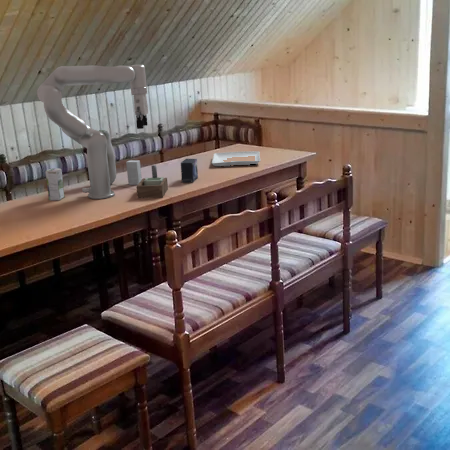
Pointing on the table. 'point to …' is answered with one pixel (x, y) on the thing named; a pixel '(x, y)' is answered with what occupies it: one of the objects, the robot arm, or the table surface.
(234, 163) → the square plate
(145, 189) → the bay
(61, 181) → the syrup box
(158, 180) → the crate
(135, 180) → the skincare box
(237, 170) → the table surface
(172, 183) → the table surface
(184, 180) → the small box
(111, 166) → the glass bottle
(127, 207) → the table surface
